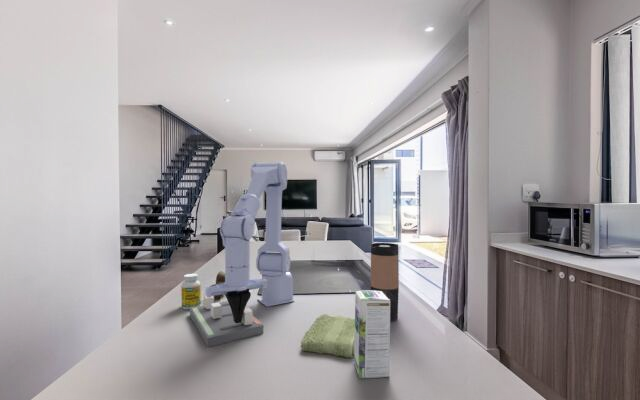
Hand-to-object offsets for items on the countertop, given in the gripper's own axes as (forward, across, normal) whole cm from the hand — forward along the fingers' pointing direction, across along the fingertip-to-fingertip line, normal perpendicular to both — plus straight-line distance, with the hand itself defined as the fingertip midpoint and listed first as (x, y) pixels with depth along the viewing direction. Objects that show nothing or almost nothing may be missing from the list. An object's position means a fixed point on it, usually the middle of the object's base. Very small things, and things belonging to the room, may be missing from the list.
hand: (237, 321), depth 74 cm
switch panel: (+3, -1, +8) cm, 9 cm away
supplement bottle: (+3, -6, +26) cm, 27 cm away
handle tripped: (+1, +2, 0) cm, 2 cm away
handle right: (+1, -3, +16) cm, 16 cm away
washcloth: (+4, +19, -14) cm, 24 cm away
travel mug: (+3, +38, -11) cm, 40 cm away
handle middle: (+1, -3, +8) cm, 9 cm away
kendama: (+3, +8, +37) cm, 38 cm away
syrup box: (+3, +17, -29) cm, 34 cm away
